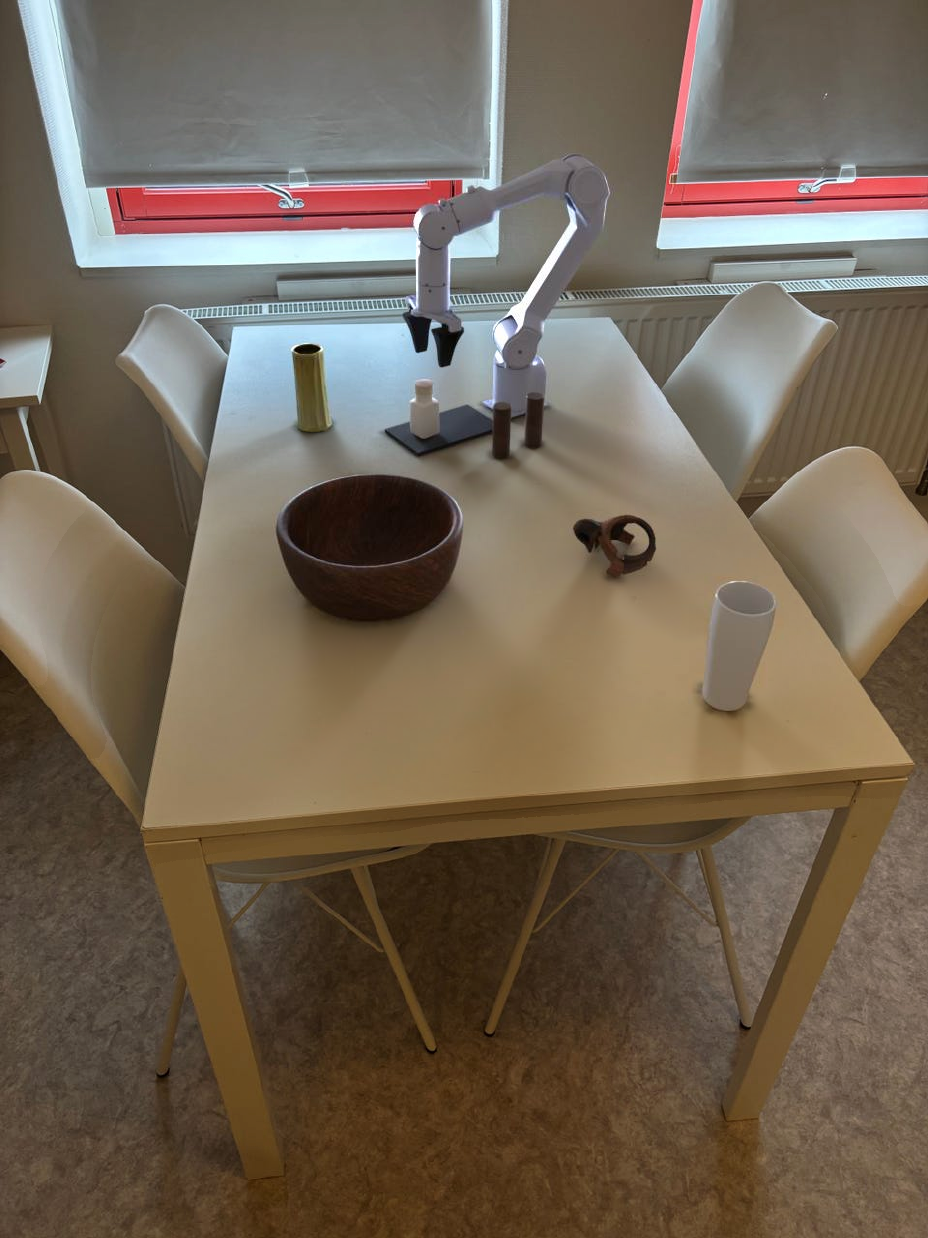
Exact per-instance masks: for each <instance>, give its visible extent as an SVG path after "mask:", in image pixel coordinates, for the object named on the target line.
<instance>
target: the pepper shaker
mask: <svg viewBox="0 0 928 1238" xmlns="http://www.w3.org/2000/svg"><path fill="white" fill-rule="evenodd" d="M413 385H414V396H415V397H414V398H412V399H411V400H410V401H409V422H410V430H411V432H412V433H413V434H415V435H417V436H418V437H420V438H423V439H426V438H428V437H431V436H433V435H436V434H438V433H439V431H440V430H439V413H440V402H439V400H438V399H436V398H435V397H434V381H432V380H431V379H428V378H421V379H417V380H415V381H414V383H413Z"/></svg>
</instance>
